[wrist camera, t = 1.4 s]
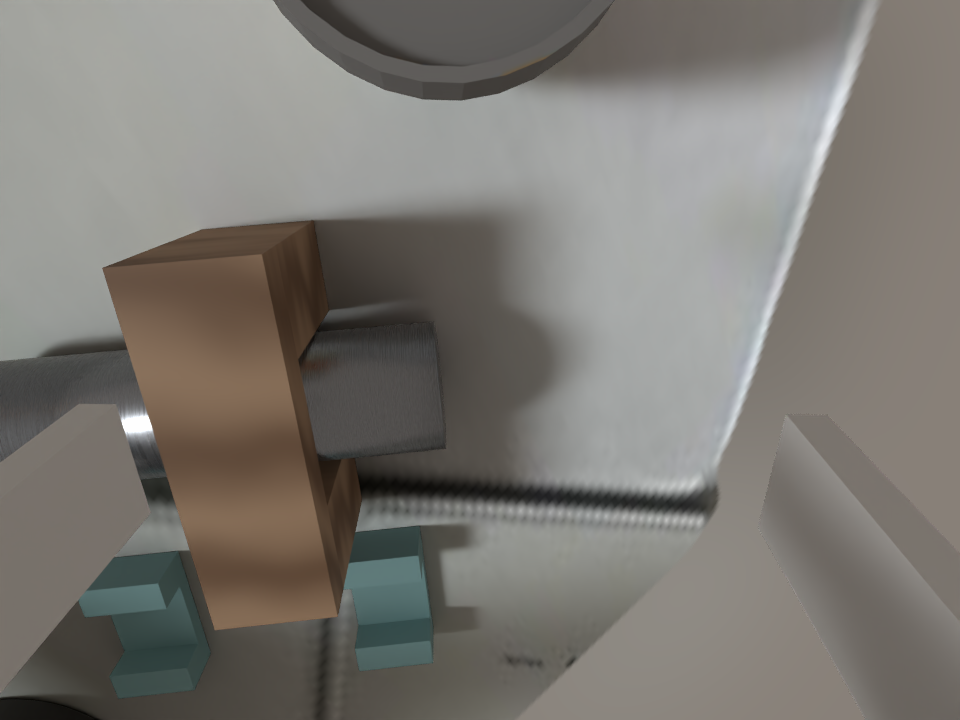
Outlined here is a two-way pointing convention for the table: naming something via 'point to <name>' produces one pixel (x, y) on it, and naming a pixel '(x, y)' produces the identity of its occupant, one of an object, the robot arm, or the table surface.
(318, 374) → the steel axle
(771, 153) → the table surface
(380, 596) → the v-blocks
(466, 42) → the reusable coffee cup
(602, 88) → the table surface
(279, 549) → the brown wooden arched block
